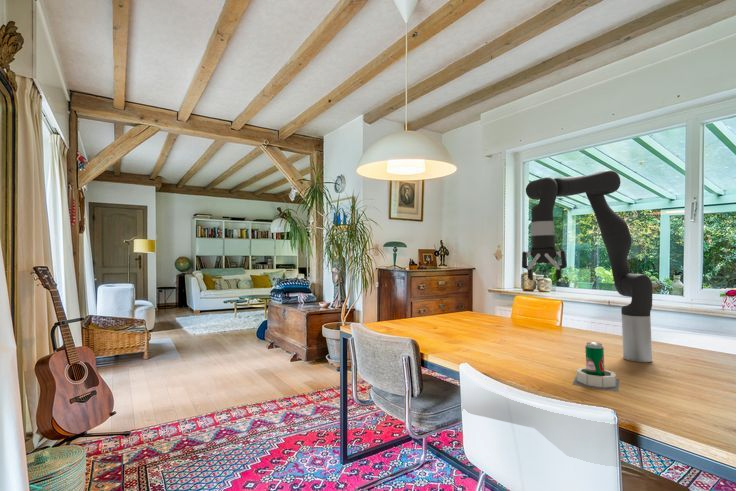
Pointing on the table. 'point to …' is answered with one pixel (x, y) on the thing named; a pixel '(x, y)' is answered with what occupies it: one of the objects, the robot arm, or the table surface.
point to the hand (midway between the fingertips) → (544, 280)
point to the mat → (597, 387)
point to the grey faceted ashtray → (596, 378)
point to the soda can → (594, 359)
